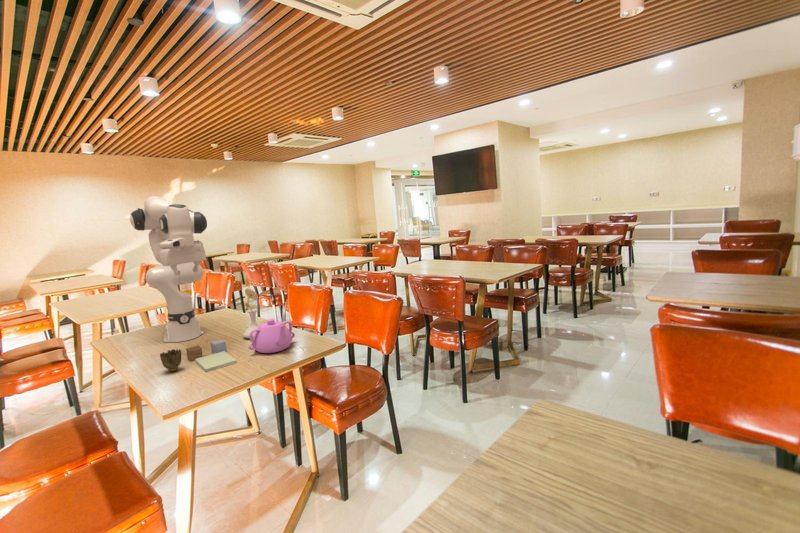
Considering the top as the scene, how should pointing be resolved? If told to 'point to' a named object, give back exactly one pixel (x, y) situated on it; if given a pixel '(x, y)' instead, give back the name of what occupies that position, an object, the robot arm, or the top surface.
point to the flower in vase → (251, 313)
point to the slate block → (218, 346)
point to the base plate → (215, 361)
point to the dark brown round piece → (171, 359)
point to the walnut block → (194, 353)
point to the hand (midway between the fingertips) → (186, 273)
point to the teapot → (271, 337)
